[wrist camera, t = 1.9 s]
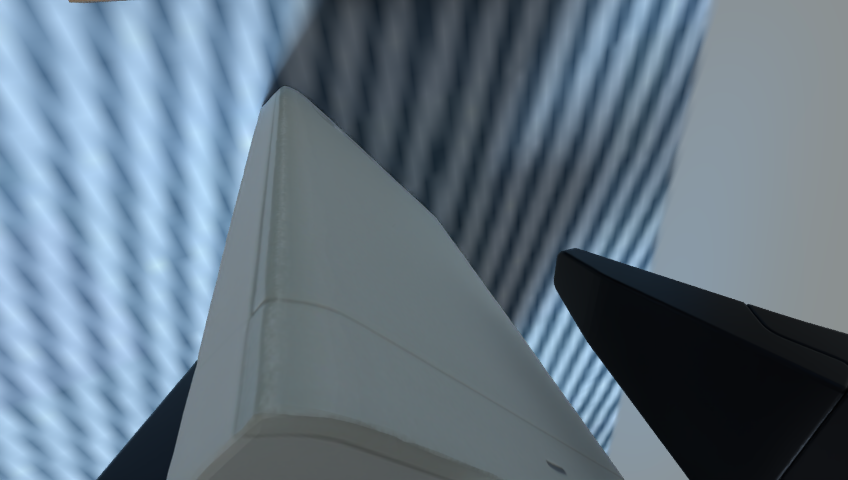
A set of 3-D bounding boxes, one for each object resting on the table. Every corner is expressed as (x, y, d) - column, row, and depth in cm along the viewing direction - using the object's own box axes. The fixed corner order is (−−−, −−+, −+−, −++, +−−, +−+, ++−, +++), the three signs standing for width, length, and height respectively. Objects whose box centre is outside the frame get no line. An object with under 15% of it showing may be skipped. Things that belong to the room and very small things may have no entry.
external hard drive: (288, 77, 13) (285, 390, 2) (445, 223, 17) (686, 555, 7) (254, 114, 13) (117, 549, 3) (418, 249, 17) (609, 606, 7)
